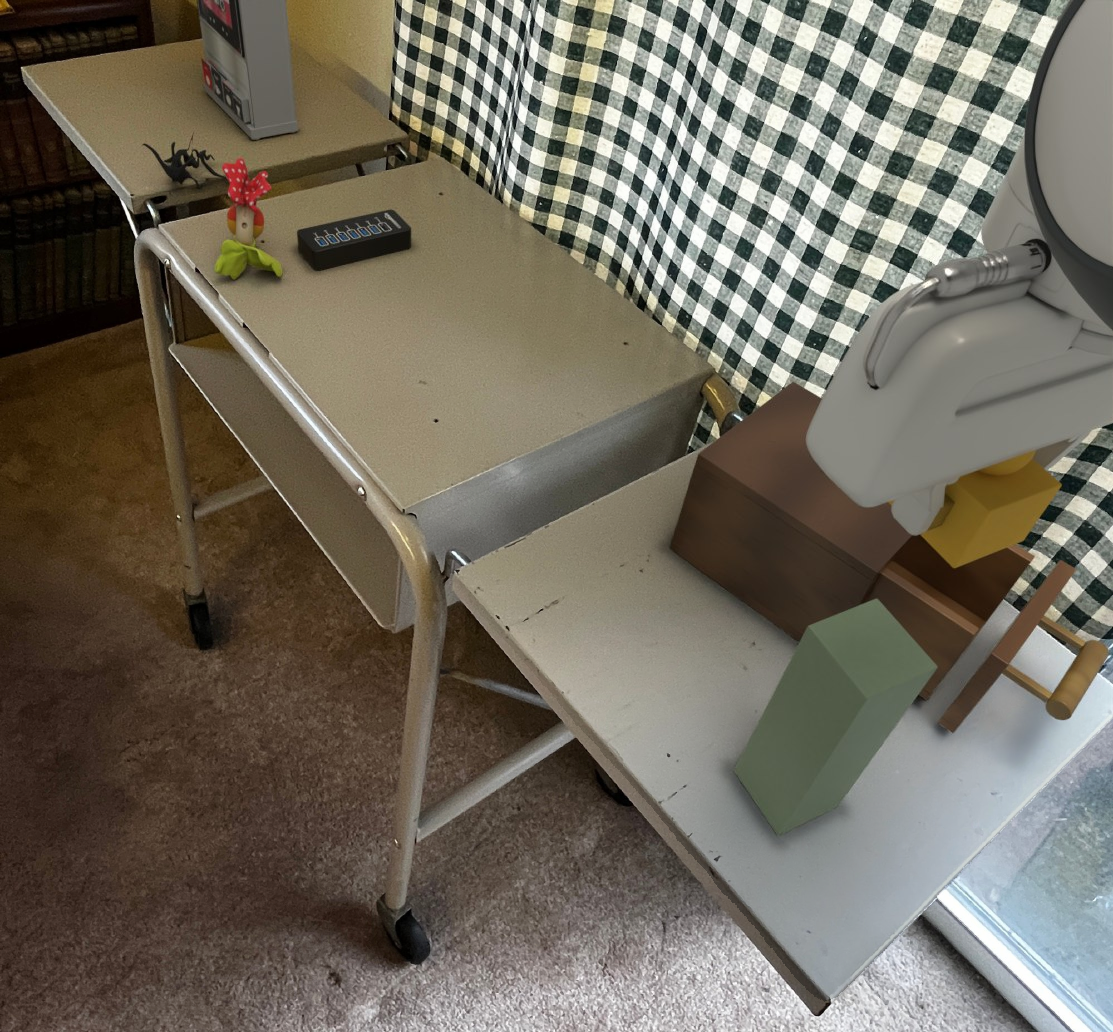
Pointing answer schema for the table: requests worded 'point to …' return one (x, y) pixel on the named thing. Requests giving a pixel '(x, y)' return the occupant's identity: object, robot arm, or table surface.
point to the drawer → (980, 622)
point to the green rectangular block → (831, 713)
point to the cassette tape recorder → (249, 63)
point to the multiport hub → (353, 239)
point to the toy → (992, 509)
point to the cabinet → (782, 521)
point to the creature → (178, 170)
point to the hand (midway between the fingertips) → (961, 504)
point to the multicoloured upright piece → (244, 223)
